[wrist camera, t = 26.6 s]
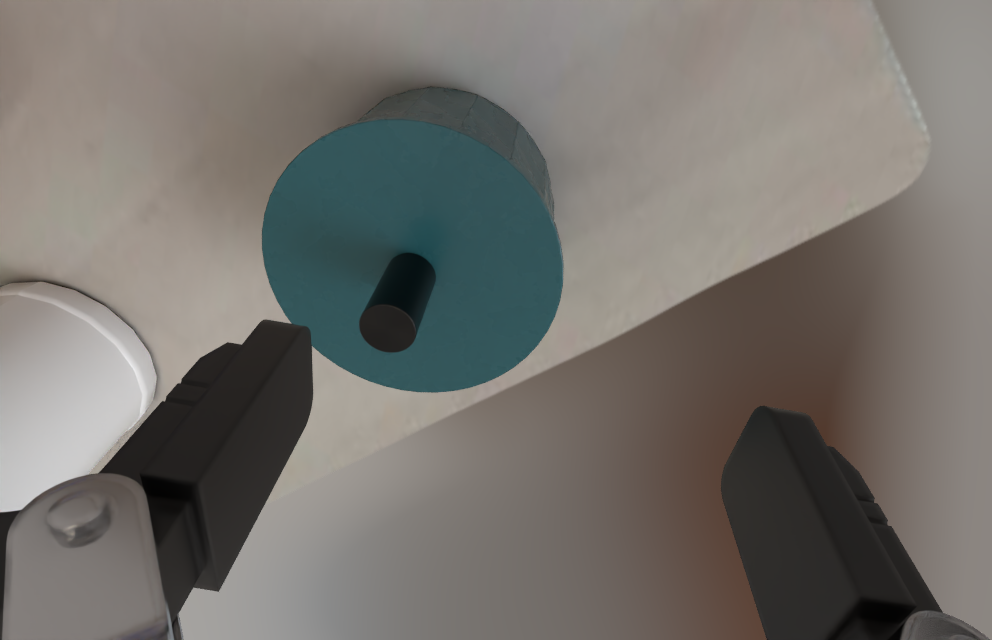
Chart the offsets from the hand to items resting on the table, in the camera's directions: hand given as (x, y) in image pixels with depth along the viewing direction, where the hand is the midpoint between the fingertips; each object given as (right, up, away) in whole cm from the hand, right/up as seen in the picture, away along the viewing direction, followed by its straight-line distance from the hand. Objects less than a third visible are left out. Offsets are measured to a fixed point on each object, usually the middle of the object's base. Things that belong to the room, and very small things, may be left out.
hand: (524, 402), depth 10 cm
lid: (-5, +4, +18) cm, 19 cm away
